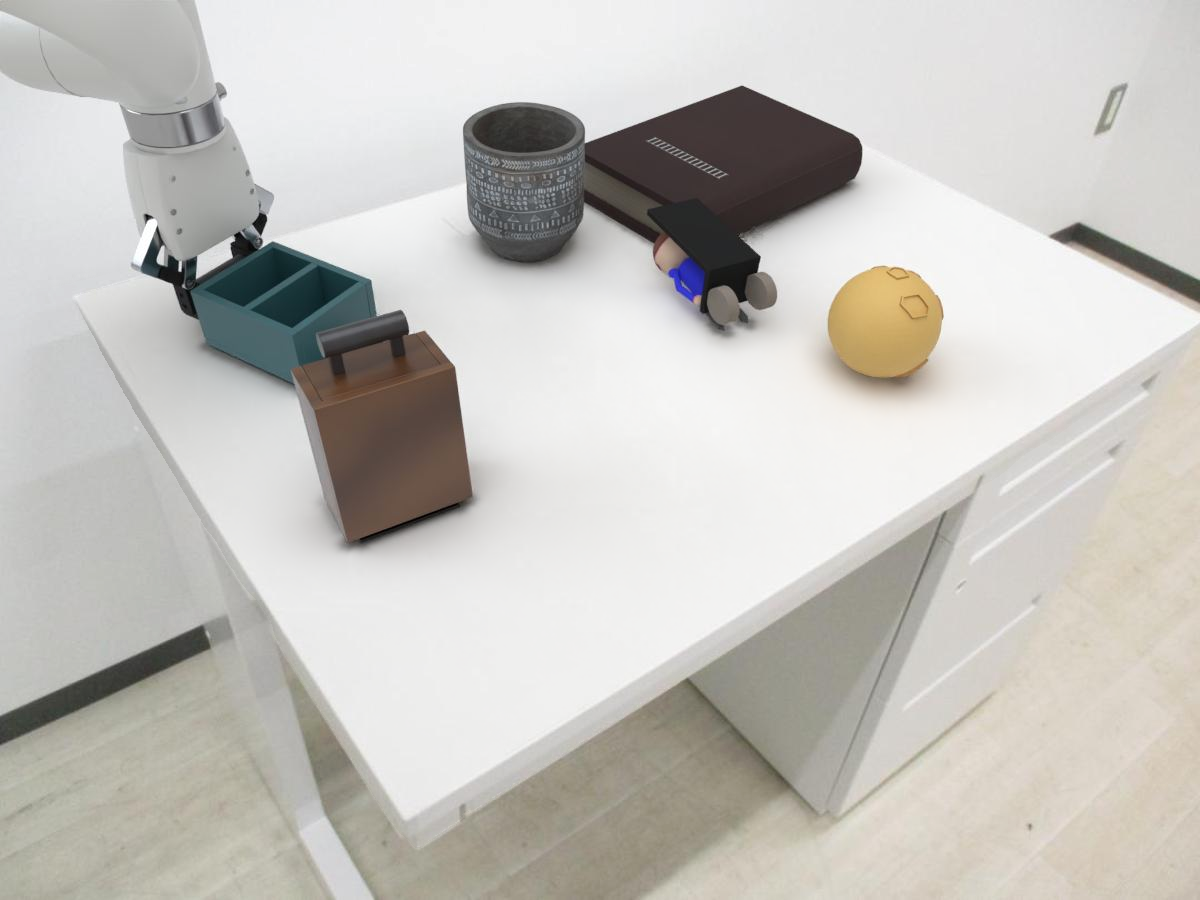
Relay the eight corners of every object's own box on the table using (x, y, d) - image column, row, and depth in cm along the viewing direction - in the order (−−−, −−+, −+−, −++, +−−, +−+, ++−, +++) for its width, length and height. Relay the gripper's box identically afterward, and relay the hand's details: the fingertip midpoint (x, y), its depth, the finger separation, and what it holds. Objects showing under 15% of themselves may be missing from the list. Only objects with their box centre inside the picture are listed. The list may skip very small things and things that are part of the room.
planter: (528, 285, 96) (525, 168, 87) (446, 242, 102) (436, 127, 93) (606, 240, 103) (610, 127, 94) (525, 201, 109) (522, 91, 100)
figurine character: (771, 337, 93) (687, 249, 101) (789, 277, 88) (699, 188, 95) (715, 357, 91) (634, 265, 99) (730, 297, 85) (643, 204, 93)
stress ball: (875, 413, 83) (904, 320, 76) (796, 356, 89) (816, 265, 82) (948, 374, 88) (981, 283, 81) (868, 322, 93) (893, 232, 87)
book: (693, 266, 100) (699, 216, 96) (573, 195, 110) (573, 147, 106) (855, 186, 114) (867, 140, 110) (736, 129, 124) (742, 85, 120)
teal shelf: (181, 332, 88) (164, 279, 84) (260, 282, 94) (247, 231, 90) (304, 389, 83) (292, 335, 79) (379, 332, 89) (371, 279, 85)
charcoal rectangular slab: (460, 506, 74) (459, 504, 73) (360, 543, 71) (360, 540, 70) (430, 459, 77) (430, 456, 77) (335, 492, 74) (334, 489, 74)
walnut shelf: (450, 326, 64) (418, 291, 68) (303, 368, 60) (279, 328, 64) (473, 497, 73) (444, 457, 77) (347, 543, 69) (324, 498, 73)
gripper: (221, 72, 85) (264, 248, 97) (52, 144, 74) (124, 332, 86) (284, 92, 82) (319, 270, 94) (118, 170, 71) (183, 360, 83)
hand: (226, 298), depth 90 cm, fingers open, 6 cm apart
